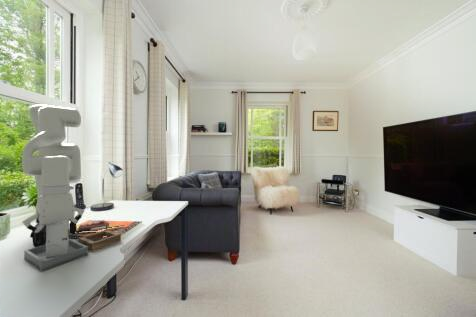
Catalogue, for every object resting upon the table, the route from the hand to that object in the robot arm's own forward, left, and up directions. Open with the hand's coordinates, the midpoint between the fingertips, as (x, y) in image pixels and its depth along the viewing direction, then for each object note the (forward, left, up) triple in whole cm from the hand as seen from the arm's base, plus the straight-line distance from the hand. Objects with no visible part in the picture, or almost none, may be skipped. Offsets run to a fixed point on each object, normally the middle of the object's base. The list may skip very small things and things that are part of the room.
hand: (56, 238), depth 76 cm
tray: (0, 0, -7) cm, 7 cm away
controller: (-16, 0, -7) cm, 17 cm away
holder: (+1, +14, -7) cm, 16 cm away
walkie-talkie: (-16, +23, -7) cm, 29 cm away
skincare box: (0, 0, -6) cm, 6 cm away
